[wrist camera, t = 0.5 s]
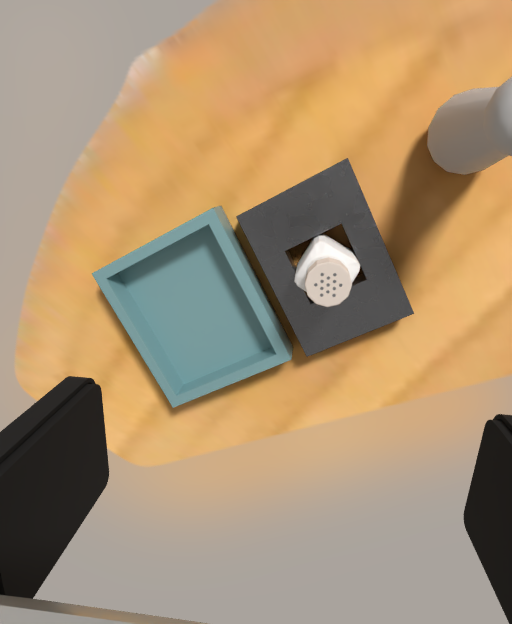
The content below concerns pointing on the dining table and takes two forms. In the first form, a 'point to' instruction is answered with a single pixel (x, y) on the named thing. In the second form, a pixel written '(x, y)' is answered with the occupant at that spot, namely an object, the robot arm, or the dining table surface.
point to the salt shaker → (472, 130)
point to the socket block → (307, 224)
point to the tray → (196, 308)
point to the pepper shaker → (326, 271)
